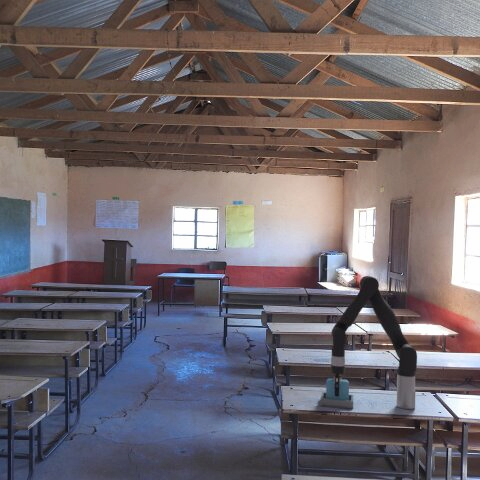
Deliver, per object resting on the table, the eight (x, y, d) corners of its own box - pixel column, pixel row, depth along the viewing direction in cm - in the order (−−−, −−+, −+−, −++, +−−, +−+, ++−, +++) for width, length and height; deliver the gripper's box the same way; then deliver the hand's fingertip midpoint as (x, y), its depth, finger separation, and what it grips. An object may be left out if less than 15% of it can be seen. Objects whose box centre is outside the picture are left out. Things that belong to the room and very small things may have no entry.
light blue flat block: (348, 401, 273) (348, 379, 273) (348, 404, 268) (349, 382, 268) (326, 399, 275) (326, 378, 275) (325, 402, 271) (326, 380, 271)
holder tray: (353, 402, 275) (353, 394, 275) (352, 409, 264) (353, 401, 264) (322, 399, 280) (322, 392, 280) (320, 405, 268) (320, 398, 268)
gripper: (344, 367, 264) (343, 398, 264) (345, 361, 278) (344, 390, 278) (330, 366, 266) (329, 397, 266) (331, 360, 280) (331, 389, 280)
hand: (337, 394), depth 272 cm, fingers open, 7 cm apart
